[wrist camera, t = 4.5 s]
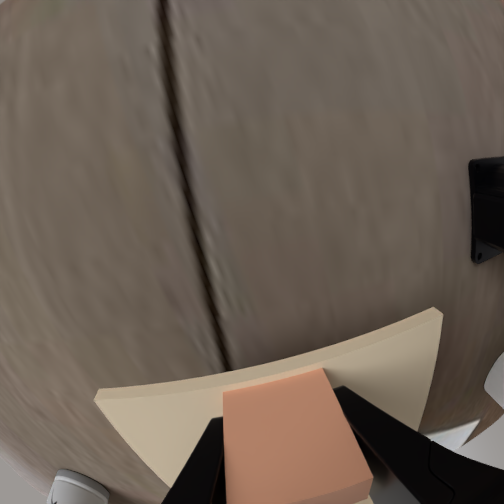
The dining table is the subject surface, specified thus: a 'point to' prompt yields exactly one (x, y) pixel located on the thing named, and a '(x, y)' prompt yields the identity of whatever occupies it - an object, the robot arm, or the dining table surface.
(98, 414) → the dining table surface
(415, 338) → the lid panel
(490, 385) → the white pointed cylinder
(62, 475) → the travel mug
